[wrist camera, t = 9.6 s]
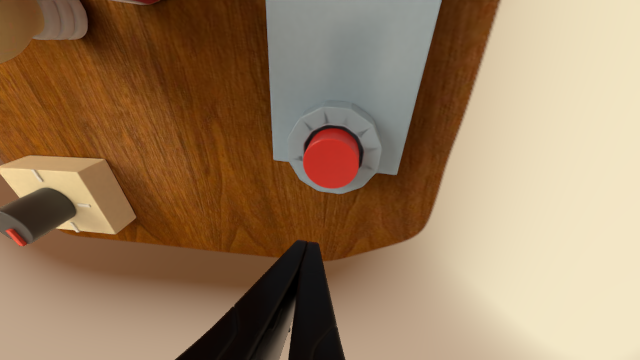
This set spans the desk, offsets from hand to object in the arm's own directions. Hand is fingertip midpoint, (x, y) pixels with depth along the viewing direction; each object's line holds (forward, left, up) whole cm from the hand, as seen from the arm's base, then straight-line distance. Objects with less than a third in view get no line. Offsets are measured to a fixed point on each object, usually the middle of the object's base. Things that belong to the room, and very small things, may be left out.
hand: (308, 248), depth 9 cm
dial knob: (+6, +30, -10) cm, 32 cm away
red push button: (0, 0, -9) cm, 9 cm away
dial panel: (+6, +30, -13) cm, 33 cm away
